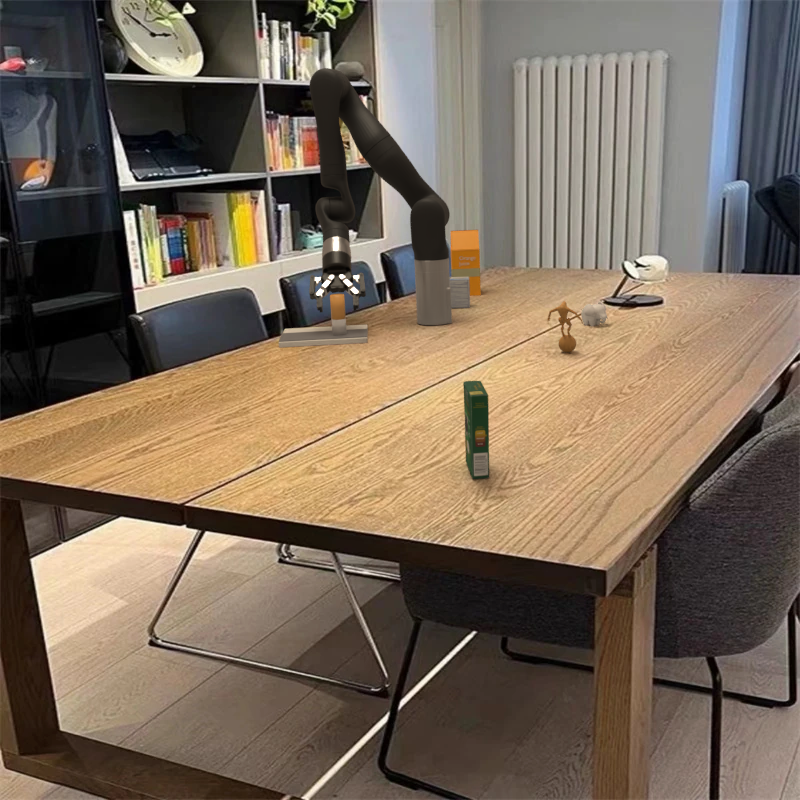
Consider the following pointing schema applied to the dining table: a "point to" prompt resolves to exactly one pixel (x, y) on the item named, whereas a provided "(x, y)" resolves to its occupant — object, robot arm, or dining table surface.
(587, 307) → the elephant figurine
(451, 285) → the medicine box
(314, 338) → the board
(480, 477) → the coffee box
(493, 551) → the dining table surface
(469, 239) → the orange juice
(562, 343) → the figurine
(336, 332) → the orange and grey block
